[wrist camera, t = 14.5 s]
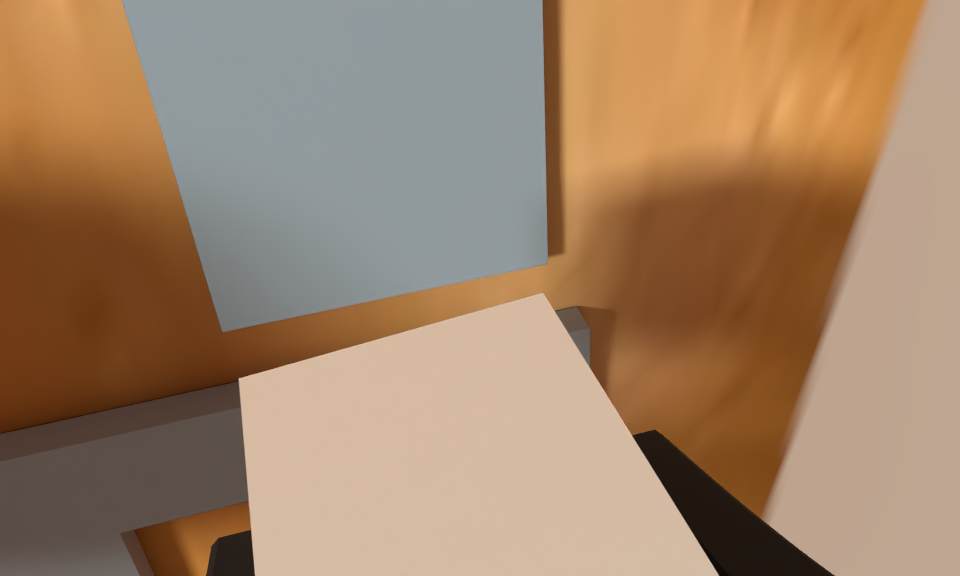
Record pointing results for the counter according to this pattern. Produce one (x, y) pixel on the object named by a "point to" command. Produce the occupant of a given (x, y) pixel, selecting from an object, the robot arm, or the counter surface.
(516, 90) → the rest pad
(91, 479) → the socket block
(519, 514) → the plug
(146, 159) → the counter surface
